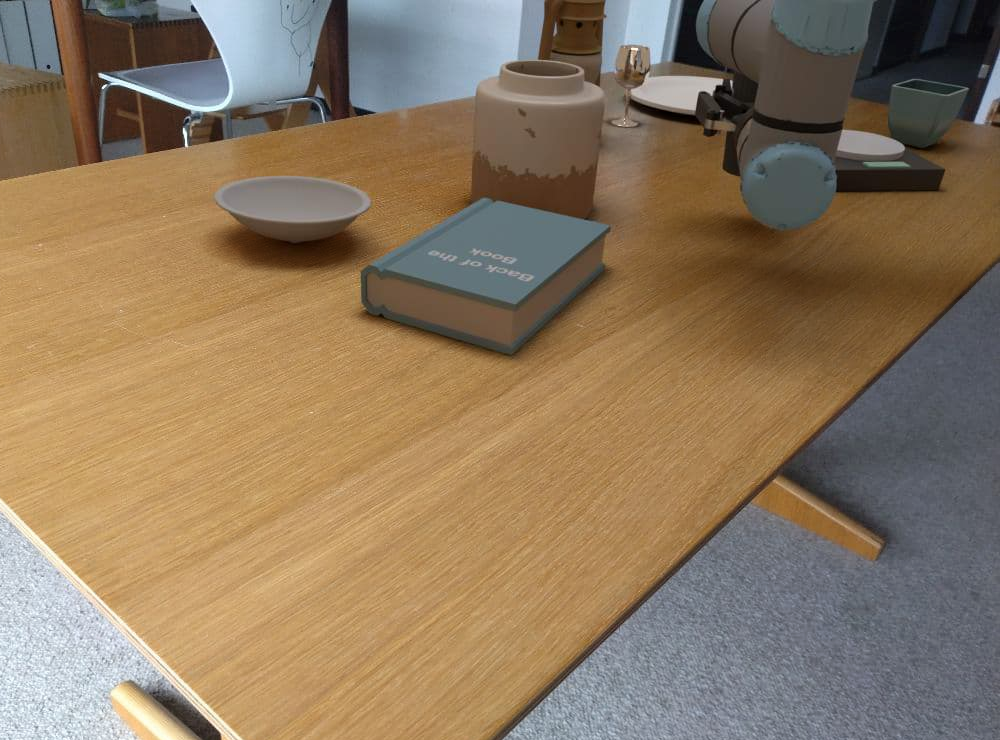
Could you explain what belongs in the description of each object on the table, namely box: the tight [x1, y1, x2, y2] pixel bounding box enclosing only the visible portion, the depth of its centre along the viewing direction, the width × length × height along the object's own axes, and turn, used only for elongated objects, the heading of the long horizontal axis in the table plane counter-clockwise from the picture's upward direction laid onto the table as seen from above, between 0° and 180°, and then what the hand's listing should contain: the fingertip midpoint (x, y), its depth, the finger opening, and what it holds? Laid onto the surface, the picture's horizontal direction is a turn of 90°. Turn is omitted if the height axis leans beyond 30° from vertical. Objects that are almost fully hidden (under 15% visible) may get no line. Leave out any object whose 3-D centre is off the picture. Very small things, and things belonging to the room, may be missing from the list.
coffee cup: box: [722, 70, 758, 178], centre depth 101 cm, size 10×10×15 cm
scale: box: [834, 129, 946, 192], centre depth 128 cm, size 18×16×4 cm
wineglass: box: [611, 44, 651, 128], centre depth 144 cm, size 6×6×12 cm
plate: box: [625, 75, 733, 117], centre depth 159 cm, size 28×28×2 cm
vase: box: [470, 59, 606, 220], centre depth 106 cm, size 15×15×17 cm
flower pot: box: [887, 78, 970, 149], centre depth 140 cm, size 9×9×9 cm
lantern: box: [537, 0, 608, 88], centre depth 128 cm, size 15×10×30 cm
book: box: [360, 198, 611, 356], centre depth 88 cm, size 23×16×5 cm
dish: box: [213, 175, 372, 244], centre depth 97 cm, size 18×14×5 cm
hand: (761, 93), depth 105 cm, fingers closed on coffee cup, 8 cm apart
